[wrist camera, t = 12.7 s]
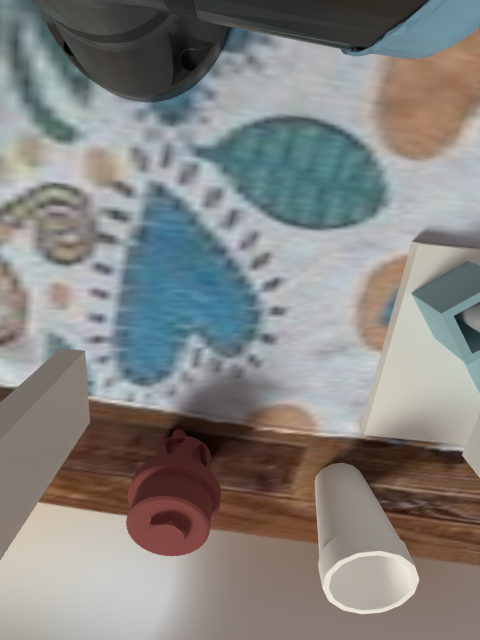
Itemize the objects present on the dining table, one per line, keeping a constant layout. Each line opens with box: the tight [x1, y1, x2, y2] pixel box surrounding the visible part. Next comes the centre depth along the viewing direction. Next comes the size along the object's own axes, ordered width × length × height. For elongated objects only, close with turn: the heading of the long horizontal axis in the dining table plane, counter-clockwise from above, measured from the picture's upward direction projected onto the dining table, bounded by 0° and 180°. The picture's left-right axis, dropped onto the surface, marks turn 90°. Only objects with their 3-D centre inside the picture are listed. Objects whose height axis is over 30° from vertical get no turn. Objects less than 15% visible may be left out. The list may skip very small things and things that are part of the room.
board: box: [360, 241, 480, 445], centre depth 36 cm, size 23×17×8 cm
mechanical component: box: [126, 429, 221, 556], centre depth 40 cm, size 12×10×10 cm
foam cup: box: [315, 463, 419, 614], centre depth 41 cm, size 10×9×13 cm
